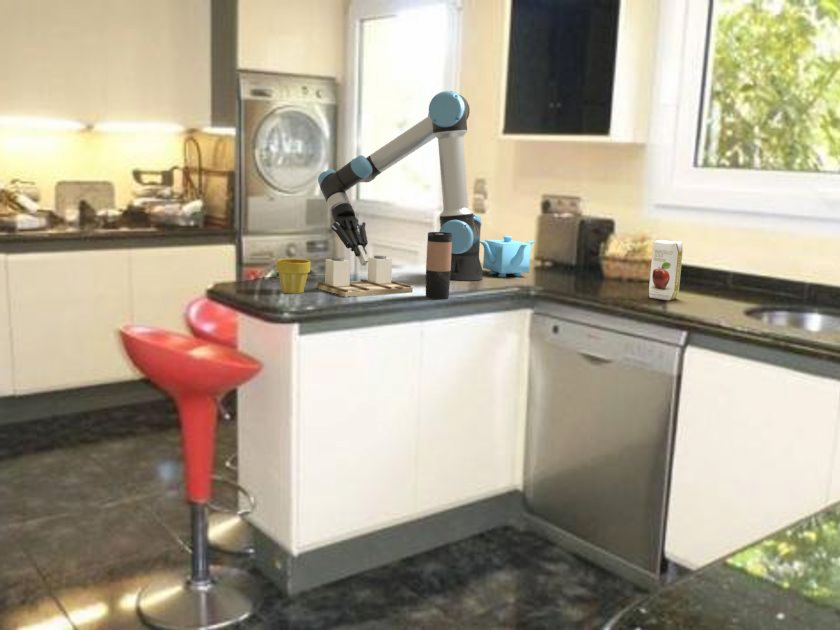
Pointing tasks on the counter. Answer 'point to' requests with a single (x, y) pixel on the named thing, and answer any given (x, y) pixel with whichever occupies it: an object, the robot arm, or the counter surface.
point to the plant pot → (293, 274)
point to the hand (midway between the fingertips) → (365, 263)
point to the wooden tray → (366, 288)
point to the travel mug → (438, 265)
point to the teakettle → (506, 256)
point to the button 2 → (379, 269)
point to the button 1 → (337, 272)
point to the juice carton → (665, 270)
